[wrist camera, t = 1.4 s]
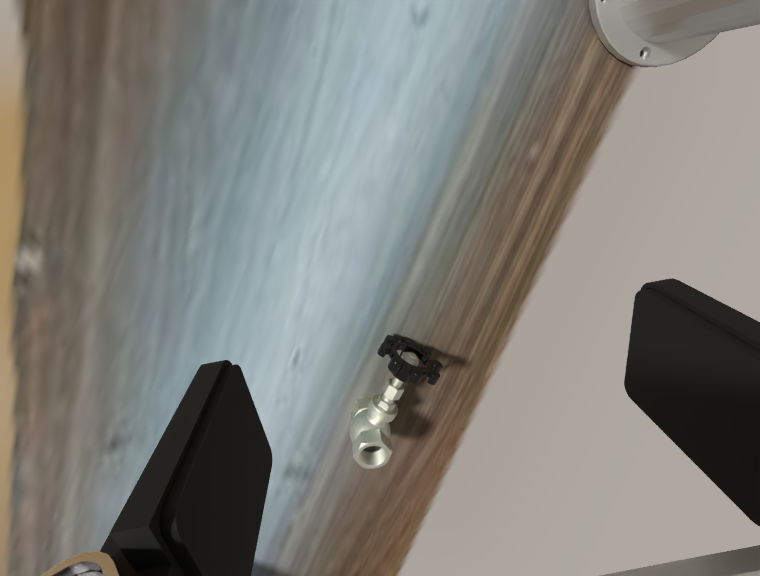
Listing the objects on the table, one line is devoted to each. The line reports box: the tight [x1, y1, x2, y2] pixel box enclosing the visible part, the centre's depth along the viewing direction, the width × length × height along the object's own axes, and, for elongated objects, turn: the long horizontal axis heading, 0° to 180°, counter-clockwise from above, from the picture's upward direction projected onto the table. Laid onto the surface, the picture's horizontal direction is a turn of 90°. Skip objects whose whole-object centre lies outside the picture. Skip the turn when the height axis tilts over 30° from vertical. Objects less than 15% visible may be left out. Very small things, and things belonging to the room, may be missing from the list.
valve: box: [350, 335, 442, 469], centre depth 40 cm, size 7×7×12 cm
